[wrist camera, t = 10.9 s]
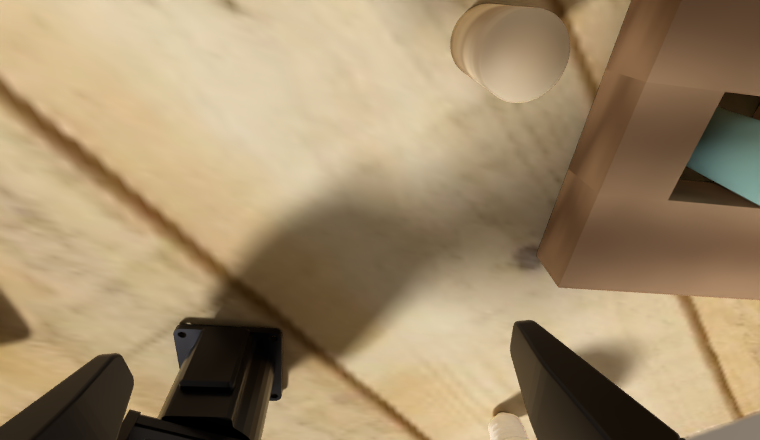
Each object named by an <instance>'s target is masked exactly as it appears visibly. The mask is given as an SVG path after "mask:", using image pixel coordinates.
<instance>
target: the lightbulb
mask: <svg viewBox="0 0 760 440" xmlns="http://www.w3.org/2000/svg"><path fill="white" fill-rule="evenodd" d="M488 429H489V434H490V438H491V440H529V438H528V436H527V433H526V431H525V429H524V426H523V425H522V423H521V420H520V419H519V417H517V416H516V415H514V414H510V413H505V412H501V413H498V414H497V415H496V416H495V417H494V418H492V419H491V420H490V422H489V425H488Z"/></svg>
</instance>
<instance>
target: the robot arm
mask: <svg viewBox="0 0 760 440" xmlns="http://www.w3.org/2000/svg"><path fill="white" fill-rule="evenodd" d="M183 332H184V333H183ZM173 335H174V340H175V346H176V351H177V357H178V362H179V368H180V370H179V372H178V375H177V377H176V379H175V381H174V383H173V385H172V388H171V390H170V392H169V394H168V396H167V398H166V401H165V403H164V405H163V407H162V409H161V411H160V414H159V416H158V418H154V417H150V416H145V415H141V414H140V413H141V412H138V411H134V410H129V412H128V413H127V415H126V417H125V419H124V420H123V418H124V415H125V412H126V409H127V405H128V402H129V399H130V396H131V393H132V390H133V385H134V379H133V376H132V374H131V372H130V370H129V368H128V366H127V364H126V363H125V361H124V359H123V357H122V356H121V355H120V354H117V353H113V354H102V355H99V356H97V357H95V358H94V359H92V360H91V361H90V362H88V363H87V364H85V365H84V366H83V367H81V368H80V369H79V370H77V371H76V372H75V373H73V374H72V375H70V376H69V377H68V378H66V379H65V380H64V381H62V382H61V383H60V384H58V385H57V386H55V387H54V388H53V389H51V390H50V391H49V392H47V393H46V394H45V395H43V396H42V397H40V398H39V399H38V400H36V401H35V402H34V403H32V404H31V405H30V406H28V407H27V408H25V409H24V410H23V411H21V412H20V413H19V414H17V415H16V416H15V417H13V418H12V419H10V420H9V421H8V422H6V423H5V424H4V425H2V426H1V427H0V440H261V437H262V432H263V428H264V423H265V418H266V413H267V409H268V404H269V401H277V400H279V399H280V398H281V396H282V336H283V335H282V332H281V331H280V330H278V329H275V328H255V327H234V326H213V325H192V324H180V325H178V326H177V327H176V329H175V331H174V334H173ZM272 336H276V337H272ZM510 352H511V357H512V361H513V364H514V368H515V371H516V375H517V378H518V382H519V385H520V389H521V392H522V396H523V399H524V403H525V406H526V409H527V413H528V416H529V419H530V422H531V425H532V427H533V430H534V433H535V435H536V438H537V440H685V439H684V438H680V436H679V434H678V433H676V432H675V431H674V430H672V429H671V428H670V427H669V426H667V425H666V424H665V423H664V422H662V421H661V420H660V419H658V418H657V417H656V416H655V415H653V414H652V413H651V412H650V411H648V410H647V409H646V408H644V407H643V406H642V405H641V404H639V403H638V402H637V401H636V400H634V399H633V398H632V397H630V396H629V395H628V394H627V393H625V392H624V391H623V390H621V389H620V388H619V387H618V386H616V385H615V384H614V383H613V382H611V381H610V380H609V379H607V378H606V377H605V376H604V375H602V374H601V373H600V372H599V371H597V370H596V369H595V368H593V367H592V366H591V365H590V364H588V363H587V362H586V361H585V360H583V359H582V358H581V357H579V356H578V355H577V354H576V353H574V352H573V351H572V350H570V349H569V348H568V347H567V346H565V345H564V344H563V343H562V342H560V341H559V340H558V339H556V338H555V337H554V336H553V335H551V334H550V333H549V332H548V331H546V330H545V329H544V328H542V327H541V326H540V325H539V324H537V323H536V322H534V321H532V320H526V321H517V322H515V323H514V325H513V331H512V338H511V345H510ZM122 421H123V422H122Z"/></svg>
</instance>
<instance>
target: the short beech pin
mask: <svg viewBox="0 0 760 440" xmlns="http://www.w3.org/2000/svg"><path fill="white" fill-rule="evenodd" d="M569 53H570V39H569V35H568V31H567V29H566V27H565V25H564V23H563V22H562V20H561V19H560V18H559V17H558V16H557V15H555V14H554V13H552V12H551V11H548V10H546V9H542V8H536V7H524V6H513V5H502V4H490V3H487V4H481V5H477V6H475V7H473V8H471V9H470V10H468V11H467V12H466V13H465V14H463V15H462V17H461V18H460V19H459V20H458V22H457V23H456V25H455V27H454V30H453V32H452V36H451V54H452V57H453V60H454V62H455V64H456V65H457V66H458V68H459V69H460V70H461V71H463V72H464V73H465V74H467V75H468V76H470V77H471V78H472V79H474V80H475V81H476V82H478V83H479V84H480V85H482V86H483V87H484V88H486V89H487V90H488V91H490V92H491V93H492V94H494V95H495V96H496V97H498V98H500V99H501V100H504V101H507V102H511V103H524V102H528V101H531V100H534V99H536V98H538V97H540V96H542V95H544V94H545V93H546V92H548V91H549V90H550V89H551V88H552V87H553V86H554V85H555V84H556V83H557V81H558V80H559V79H560V77H561V76H562V74H563V72H564V70H565V68H566V65H567V63H568V59H569Z"/></svg>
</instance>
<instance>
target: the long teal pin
mask: <svg viewBox="0 0 760 440" xmlns="http://www.w3.org/2000/svg"><path fill="white" fill-rule="evenodd" d="M686 167H688V168H690V169H692V170H694V171H696V172H698V173H700V174H701V175H703V176H705V177H707V178H709V179H711V180H713V181H715V182H716V183H718V184H720V185H722V186H724V187H726V188H728V189H729V190H731V191H733V192H735V193H737V194H739V195H741V196H743V197H744V198H746V199H748V200H750V201H752V202H754V203H756V204H758V205H759V206H760V120H757V119H754V118H751V117H748V116H744V115H741V114H738V113H735V112H732V111H729V110H726V109H723V108H720V107H717V108H716V110H715V112H714V114H713V115H712V117H711V119H710V121H709V123H708V125H707V127H706V129H705V131H704V133H703V134H702V136H701V138H700V140H699V142H698V144H697V146H696V148H695V150H694V151H693V153H692V155H691V157H690V159H689V161H688V163H687V165H686Z"/></svg>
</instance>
